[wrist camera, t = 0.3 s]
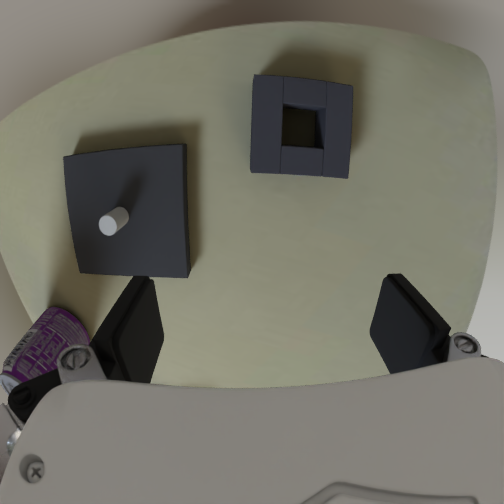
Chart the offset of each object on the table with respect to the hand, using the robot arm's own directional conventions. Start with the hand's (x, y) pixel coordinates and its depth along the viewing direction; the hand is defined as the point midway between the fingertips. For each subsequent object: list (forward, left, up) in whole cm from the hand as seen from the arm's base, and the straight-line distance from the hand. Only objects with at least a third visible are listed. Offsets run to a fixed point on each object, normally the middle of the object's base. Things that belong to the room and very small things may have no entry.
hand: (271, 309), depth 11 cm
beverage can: (+14, -22, -13) cm, 29 cm away
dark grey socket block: (-7, +3, -13) cm, 15 cm away
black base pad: (0, -11, -13) cm, 17 cm away
